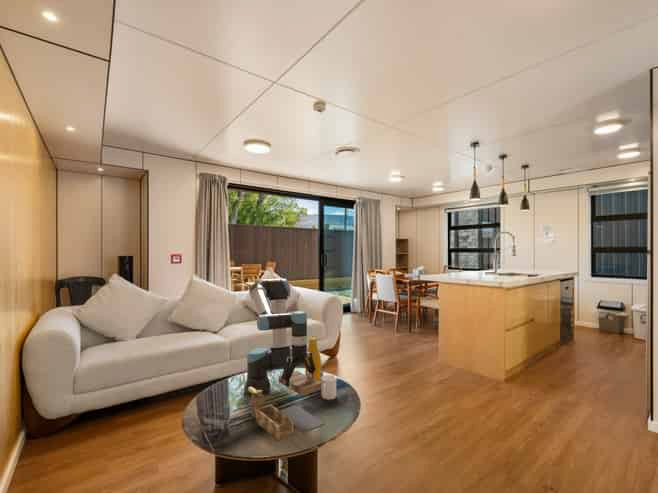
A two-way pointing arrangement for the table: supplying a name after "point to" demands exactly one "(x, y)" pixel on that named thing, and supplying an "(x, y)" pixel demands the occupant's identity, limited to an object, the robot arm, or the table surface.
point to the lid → (302, 383)
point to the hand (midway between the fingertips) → (299, 389)
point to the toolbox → (271, 418)
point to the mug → (328, 387)
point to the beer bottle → (314, 359)
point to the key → (255, 391)
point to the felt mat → (302, 418)
